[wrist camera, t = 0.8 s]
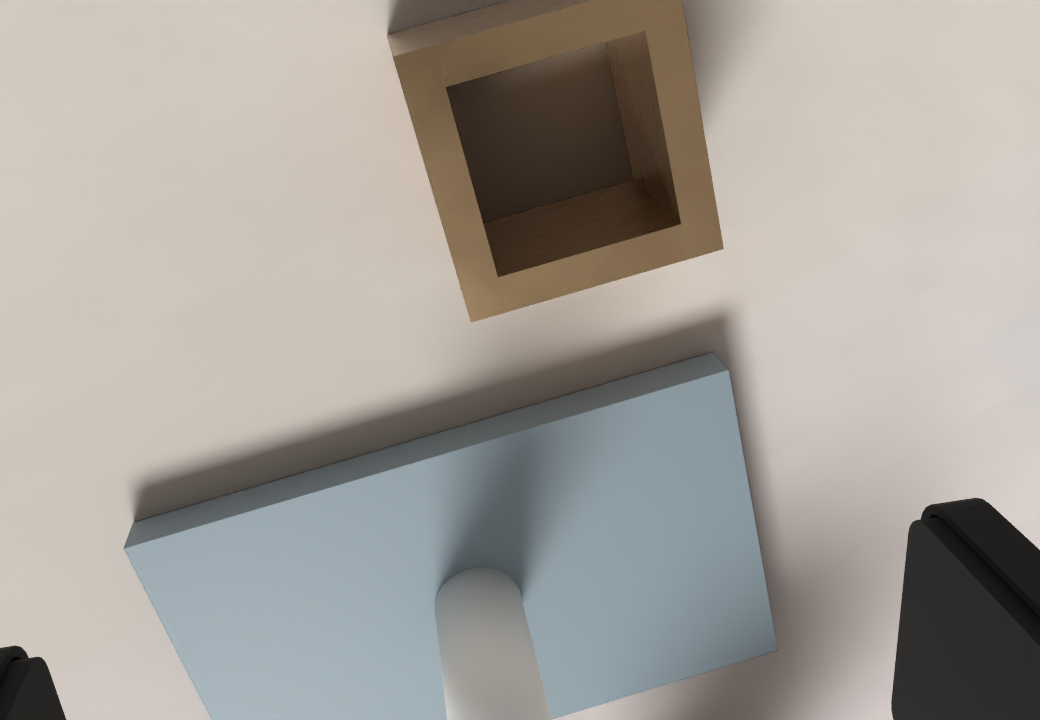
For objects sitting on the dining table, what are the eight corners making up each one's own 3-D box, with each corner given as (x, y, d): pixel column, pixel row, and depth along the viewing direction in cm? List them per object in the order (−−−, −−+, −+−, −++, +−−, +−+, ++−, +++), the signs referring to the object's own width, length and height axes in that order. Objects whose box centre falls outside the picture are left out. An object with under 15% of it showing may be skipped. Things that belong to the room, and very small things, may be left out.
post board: (713, 351, 33) (820, 480, 26) (763, 624, 38) (864, 799, 31) (133, 522, 33) (64, 706, 25) (261, 777, 38) (236, 996, 30)
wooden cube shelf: (626, -33, 28) (677, -24, 24) (670, 201, 31) (723, 248, 27) (386, 34, 28) (393, 56, 23) (454, 263, 31) (471, 322, 26)
